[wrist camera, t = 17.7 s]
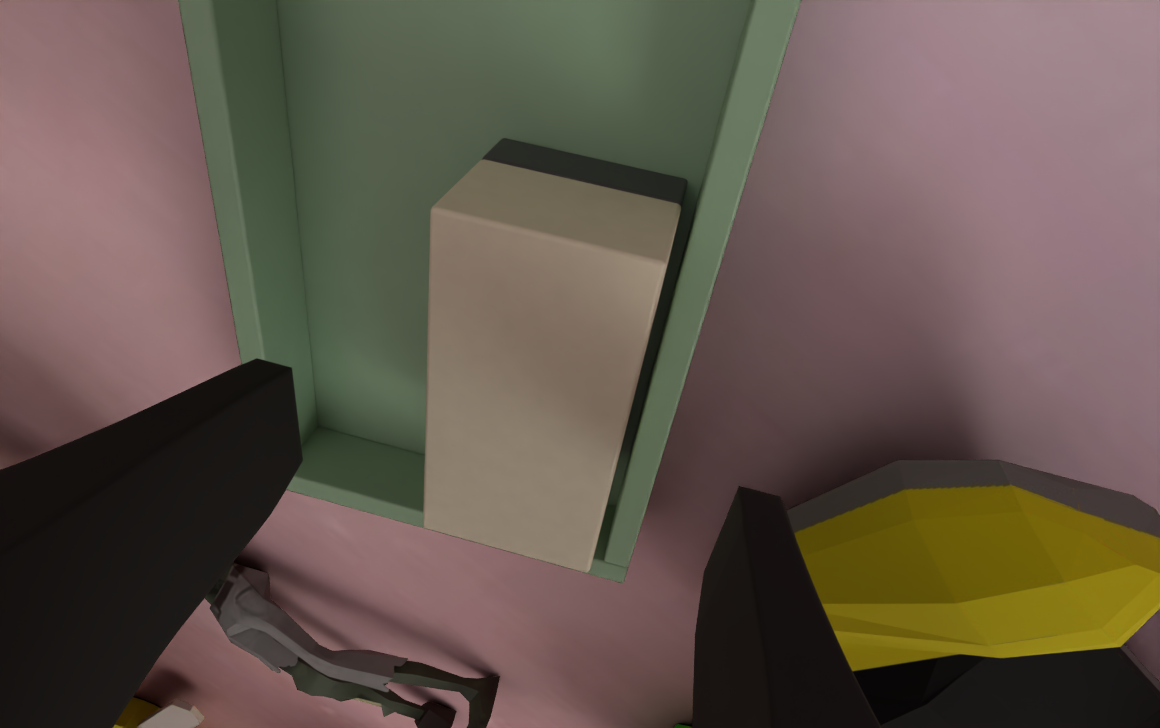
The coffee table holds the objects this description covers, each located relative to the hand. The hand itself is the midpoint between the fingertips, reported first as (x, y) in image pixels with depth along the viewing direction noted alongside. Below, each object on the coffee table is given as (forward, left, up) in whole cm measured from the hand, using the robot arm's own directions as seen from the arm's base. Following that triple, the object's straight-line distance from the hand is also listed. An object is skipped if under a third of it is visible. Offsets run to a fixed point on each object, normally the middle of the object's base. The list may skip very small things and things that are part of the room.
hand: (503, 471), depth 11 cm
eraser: (0, 0, -5) cm, 5 cm away
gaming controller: (-6, -11, -5) cm, 14 cm away
